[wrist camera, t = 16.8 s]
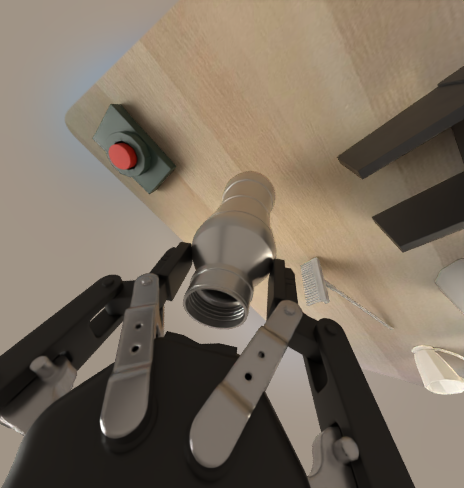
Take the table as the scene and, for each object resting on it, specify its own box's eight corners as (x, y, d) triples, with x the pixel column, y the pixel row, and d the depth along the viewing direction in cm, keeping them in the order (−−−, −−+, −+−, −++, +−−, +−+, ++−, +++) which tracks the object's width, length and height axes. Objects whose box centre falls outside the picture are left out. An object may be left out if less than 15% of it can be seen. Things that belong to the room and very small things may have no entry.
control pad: (102, 137, 34) (83, 139, 30) (120, 104, 30) (101, 102, 27) (155, 190, 37) (143, 197, 34) (176, 166, 34) (166, 171, 31)
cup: (403, 343, 48) (423, 380, 41) (456, 338, 43) (489, 378, 37) (407, 358, 50) (427, 395, 44) (458, 354, 46) (488, 394, 40)
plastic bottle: (222, 171, 26) (135, 267, 10) (273, 162, 24) (270, 261, 8) (232, 215, 29) (179, 340, 13) (277, 209, 28) (281, 346, 11)
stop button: (112, 153, 31) (104, 155, 30) (122, 137, 29) (114, 138, 28) (130, 171, 32) (123, 174, 31) (141, 157, 31) (134, 159, 29)
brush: (368, 312, 51) (383, 351, 44) (300, 265, 41) (306, 306, 34) (384, 308, 48) (403, 349, 42) (315, 256, 38) (325, 299, 32)
